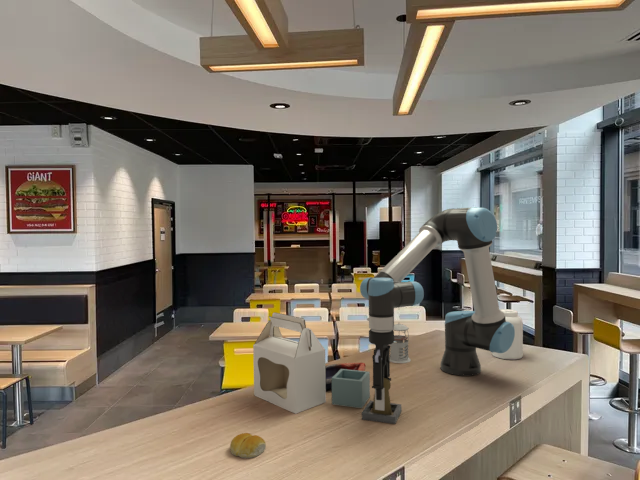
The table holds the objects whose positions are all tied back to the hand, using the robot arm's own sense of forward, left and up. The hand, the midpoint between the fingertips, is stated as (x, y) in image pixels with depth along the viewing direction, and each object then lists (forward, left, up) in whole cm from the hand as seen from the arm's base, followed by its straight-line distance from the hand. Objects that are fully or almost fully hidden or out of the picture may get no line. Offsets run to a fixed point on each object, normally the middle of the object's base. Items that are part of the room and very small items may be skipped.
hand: (381, 405), depth 137 cm
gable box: (+32, -3, -3) cm, 32 cm away
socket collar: (0, 0, -3) cm, 3 cm away
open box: (+12, -8, -3) cm, 15 cm away
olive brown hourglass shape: (0, 0, -3) cm, 3 cm away
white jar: (-38, -78, -3) cm, 87 cm away
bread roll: (+28, +32, -3) cm, 43 cm away
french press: (+5, -59, -3) cm, 59 cm away
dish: (+23, -23, -3) cm, 33 cm away
